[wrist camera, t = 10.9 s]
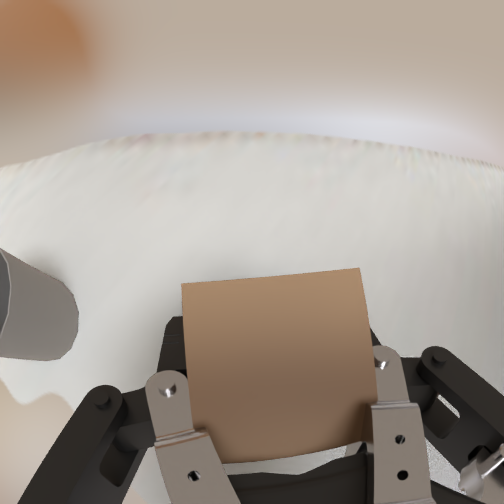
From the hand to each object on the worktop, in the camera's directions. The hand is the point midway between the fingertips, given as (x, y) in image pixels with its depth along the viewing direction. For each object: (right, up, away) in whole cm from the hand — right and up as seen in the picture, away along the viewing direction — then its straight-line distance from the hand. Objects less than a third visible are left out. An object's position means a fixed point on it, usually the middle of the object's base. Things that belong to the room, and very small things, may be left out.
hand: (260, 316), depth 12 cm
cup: (-21, -4, +12) cm, 24 cm away
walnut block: (0, -3, +3) cm, 5 cm away
